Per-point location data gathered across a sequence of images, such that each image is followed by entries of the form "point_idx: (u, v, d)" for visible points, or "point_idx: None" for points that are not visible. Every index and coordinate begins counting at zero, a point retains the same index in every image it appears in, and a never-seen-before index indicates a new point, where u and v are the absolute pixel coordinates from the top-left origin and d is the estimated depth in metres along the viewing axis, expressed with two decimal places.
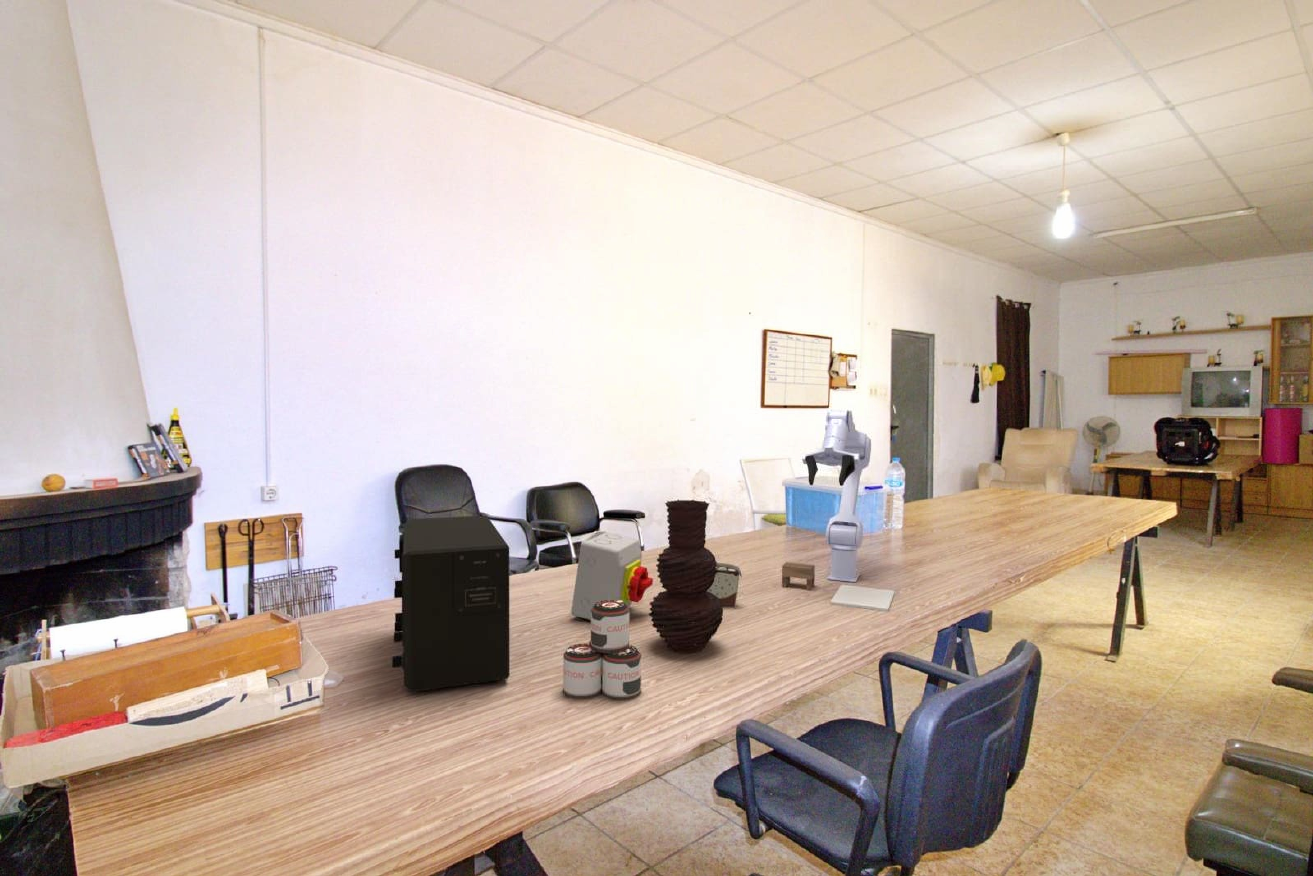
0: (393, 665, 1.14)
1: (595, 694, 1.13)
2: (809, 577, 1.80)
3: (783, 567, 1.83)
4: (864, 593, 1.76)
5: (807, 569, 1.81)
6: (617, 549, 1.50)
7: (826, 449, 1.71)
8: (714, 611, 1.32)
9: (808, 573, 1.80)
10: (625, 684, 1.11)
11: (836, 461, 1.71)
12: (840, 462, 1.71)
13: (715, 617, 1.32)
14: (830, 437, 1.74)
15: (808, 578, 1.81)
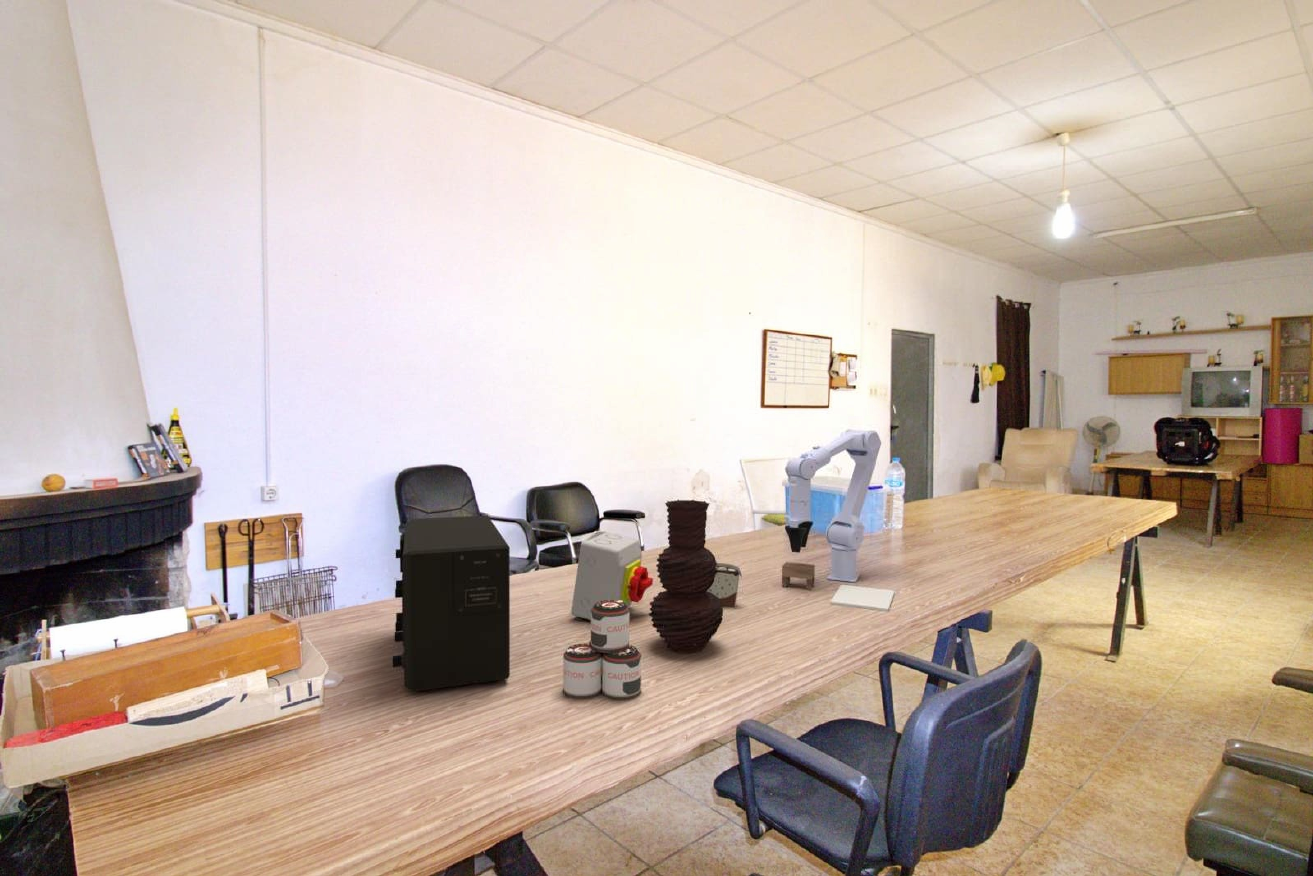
0: (393, 665, 1.14)
1: (595, 694, 1.13)
2: (809, 577, 1.80)
3: (783, 567, 1.83)
4: (864, 593, 1.76)
5: (807, 569, 1.81)
6: (617, 549, 1.50)
7: None
8: (714, 611, 1.32)
9: (808, 573, 1.80)
10: (625, 684, 1.11)
11: None
12: (798, 524, 1.81)
13: (715, 617, 1.32)
14: None
15: (808, 578, 1.81)
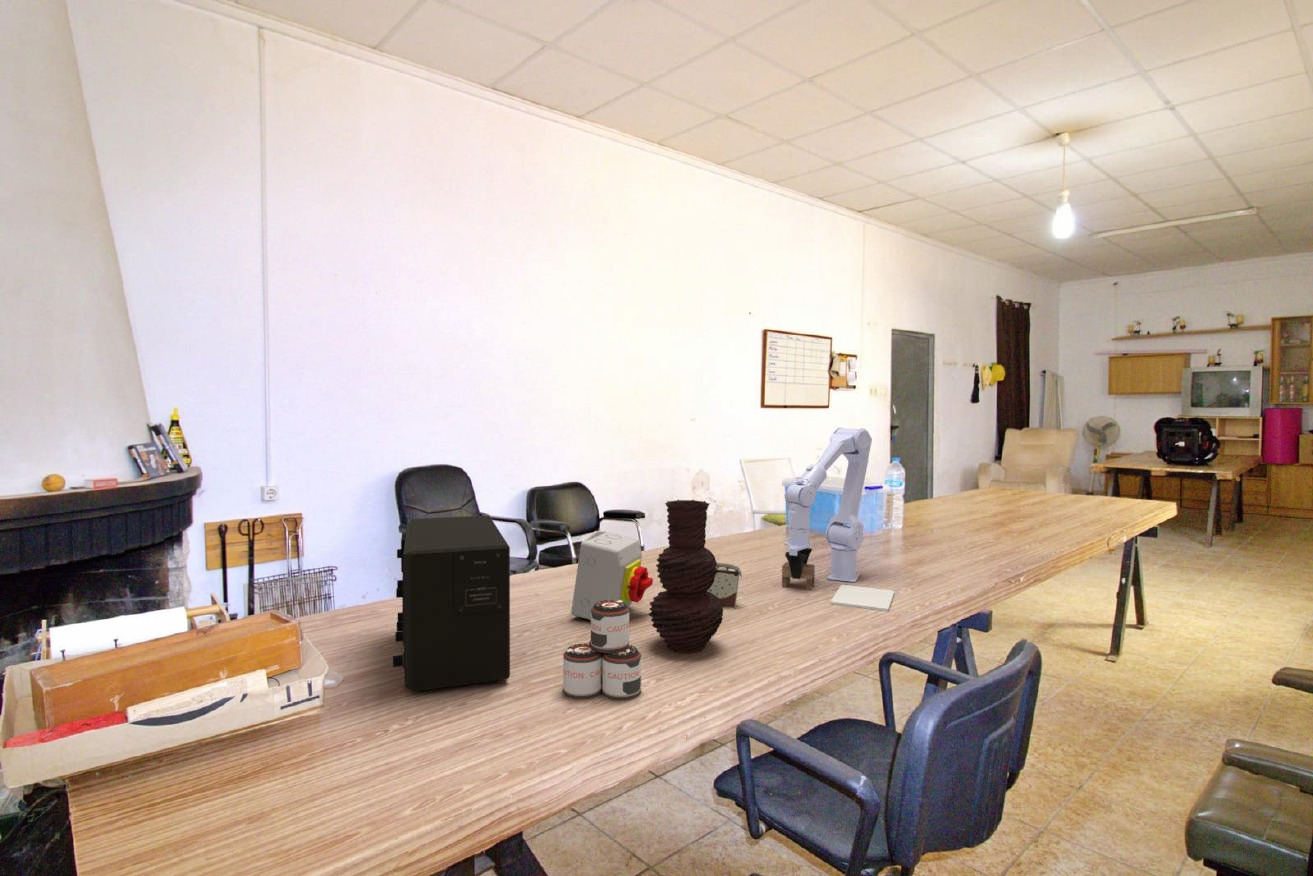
0: (394, 665, 1.14)
1: (595, 694, 1.13)
2: (809, 577, 1.80)
3: (783, 567, 1.83)
4: (864, 593, 1.76)
5: (807, 569, 1.81)
6: (617, 549, 1.50)
7: None
8: (714, 611, 1.32)
9: (808, 573, 1.80)
10: (625, 684, 1.11)
11: None
12: (797, 552, 1.81)
13: (715, 617, 1.32)
14: None
15: (808, 578, 1.81)
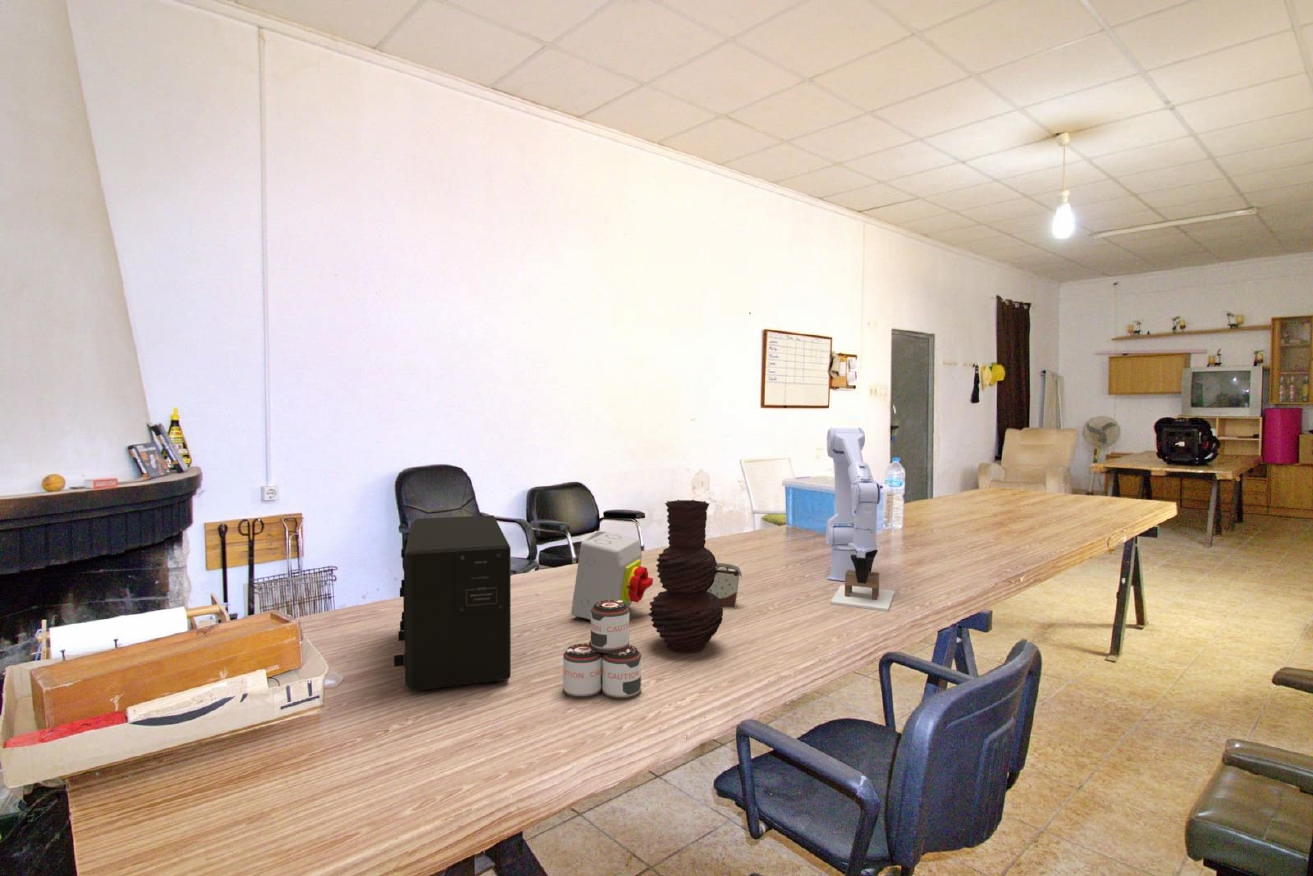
0: (395, 664, 1.15)
1: (595, 694, 1.13)
2: (875, 586, 1.70)
3: (846, 575, 1.72)
4: (864, 593, 1.76)
5: (873, 577, 1.70)
6: (617, 549, 1.50)
7: None
8: (714, 611, 1.32)
9: (874, 582, 1.70)
10: (625, 684, 1.11)
11: None
12: None
13: (715, 617, 1.32)
14: None
15: (874, 587, 1.70)
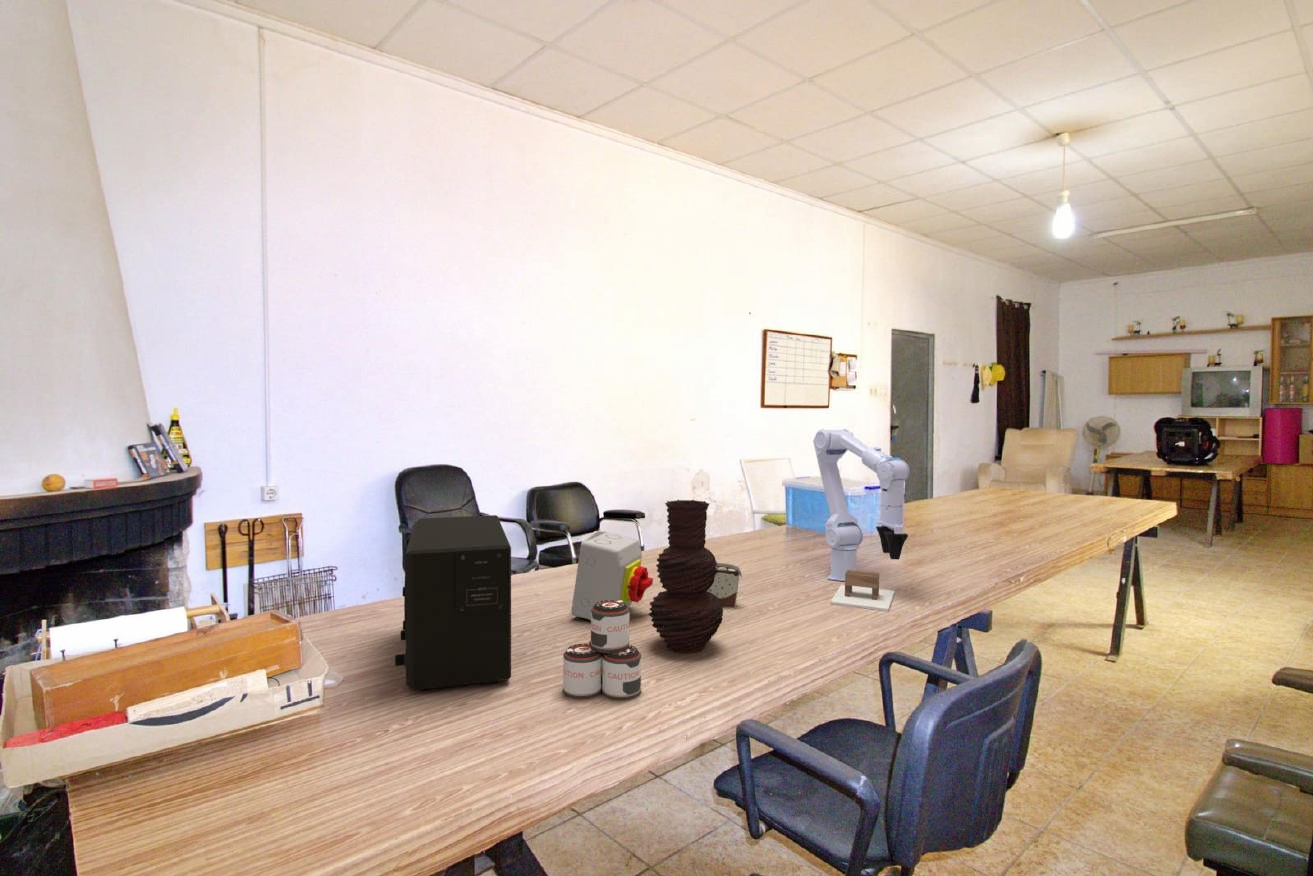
0: (396, 663, 1.15)
1: (595, 694, 1.13)
2: (875, 586, 1.70)
3: (846, 575, 1.72)
4: (864, 593, 1.76)
5: (873, 577, 1.70)
6: (617, 549, 1.50)
7: None
8: (714, 611, 1.32)
9: (874, 582, 1.70)
10: (625, 684, 1.11)
11: (893, 529, 1.75)
12: None
13: (715, 617, 1.32)
14: None
15: (874, 587, 1.70)
